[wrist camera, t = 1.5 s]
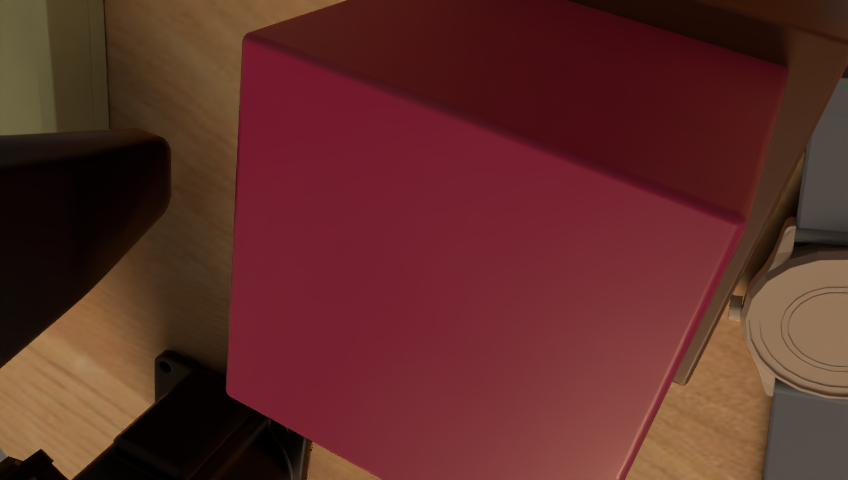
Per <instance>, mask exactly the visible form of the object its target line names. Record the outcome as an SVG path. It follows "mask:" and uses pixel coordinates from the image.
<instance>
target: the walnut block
mask: <svg viewBox="0 0 848 480" xmlns="http://www.w3.org/2000/svg"><path fill="white" fill-rule="evenodd" d="M569 1H572V2H575V3H579V4H582V5H585V6H588V7H592V8H595V9H598V10H602V11H605V12H608V13H611V14H615V15H618V16H621V17H624V18H628V19H631V20H634V21H638V22H641V23H644V24H647V25H651V26H654V27H657V28H660V29H664V30H667V31H670V32H674V33H677V34H680V35H683V36H687V37H690V38H693V39H696V40H700V41H703V42H706V43H710V44H713V45H716V46H719V47H723V48H726V49H729V50H732V51H736V52H739V53H742V54H746V55H749V56H752V57H755V58H759V59H762V60H765V61H768V62H772V63H775V64H778V65H782V66H784V67H786V68H787V69H788V79H787V83H786V86H785V90H784V94H783V97H782V101H781V105H780V108H779V112H778V116H777V119H776V123H775V126H774V130H773V134H772V137H771V141H770V145H769V148H768V152H767V156H766V159H765V163H764V167H763V170H762V174H761V178H760V181H759V185H758V189H757V192H756V196H755V199H754V203H753V207H752V210H751V214H750V218H749V221H748V225H747V227H746V229H745V231H744V234H743V236H742V238H741V240H740V242H739V244H738V246H737V248H736V250H735V252H734V254H733V256H732V258H731V260H730V263H729V265H728V267H727V269H726V271H725V273H724V275H723V277H722V279H721V281H720V283H719V285H718V287H717V289H716V292H715V294H714V296H713V298H712V300H711V302H710V304H709V306H708V308H707V310H706V312H705V314H704V316H703V319H702V321H701V323H700V325H699V327H698V329H697V331H696V333H695V335H694V337H693V339H692V341H691V343H690V345H689V348H688V350H687V352H686V354H685V356H684V358H683V360H682V362H681V364H680V366H679V368H678V370H677V372H676V374H675V377H674V379H673V382H675V383H678V384H680V385H686V384H687V383H688V381H689V379H690V377H691V375H692V373H693V371H694V369H695V367H696V365H697V363H698V361H699V359H700V357H701V355H702V354H703V352H704V350H705V348H706V346H707V344H708V342H709V340H710V338H711V336H712V334H713V332H714V330H715V328H716V326H717V324H718V322H719V320H720V318H721V316H722V314H723V312H724V310H725V308H726V306H727V304H728V302H729V300H730V298H731V296H732V294H733V292H734V290H735V288H736V286H737V284H738V282H739V280H740V278H741V276H742V274H743V272H744V270H745V268H746V266H747V264H748V262H749V260H750V258H751V256H752V254H753V252H754V250H755V248H756V246H757V244H758V242H759V240H760V238H761V236H762V234H763V232H764V230H765V228H766V226H767V224H768V222H769V220H770V218H771V216H772V214H773V212H774V210H775V208H776V206H777V204H778V202H779V200H780V198H781V196H782V194H783V192H784V190H785V188H786V186H787V184H788V182H789V180H790V178H791V176H792V174H793V172H794V170H795V168H796V166H797V164H798V162H799V160H800V158H801V156H802V154H803V152H804V150H805V148H806V146H807V144H808V142H809V140H810V138H811V136H812V134H813V132H814V130H815V128H816V126H817V124H818V122H819V120H820V118H821V116H822V114H823V112H824V110H825V108H826V106H827V104H828V102H829V100H830V98H831V96H832V94H833V92H834V90H835V88H836V86H837V84H838V82H839V80H840V78H841V76H842V74H843V72H844V70H845V68H846V66H847V64H848V0H569Z"/></svg>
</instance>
